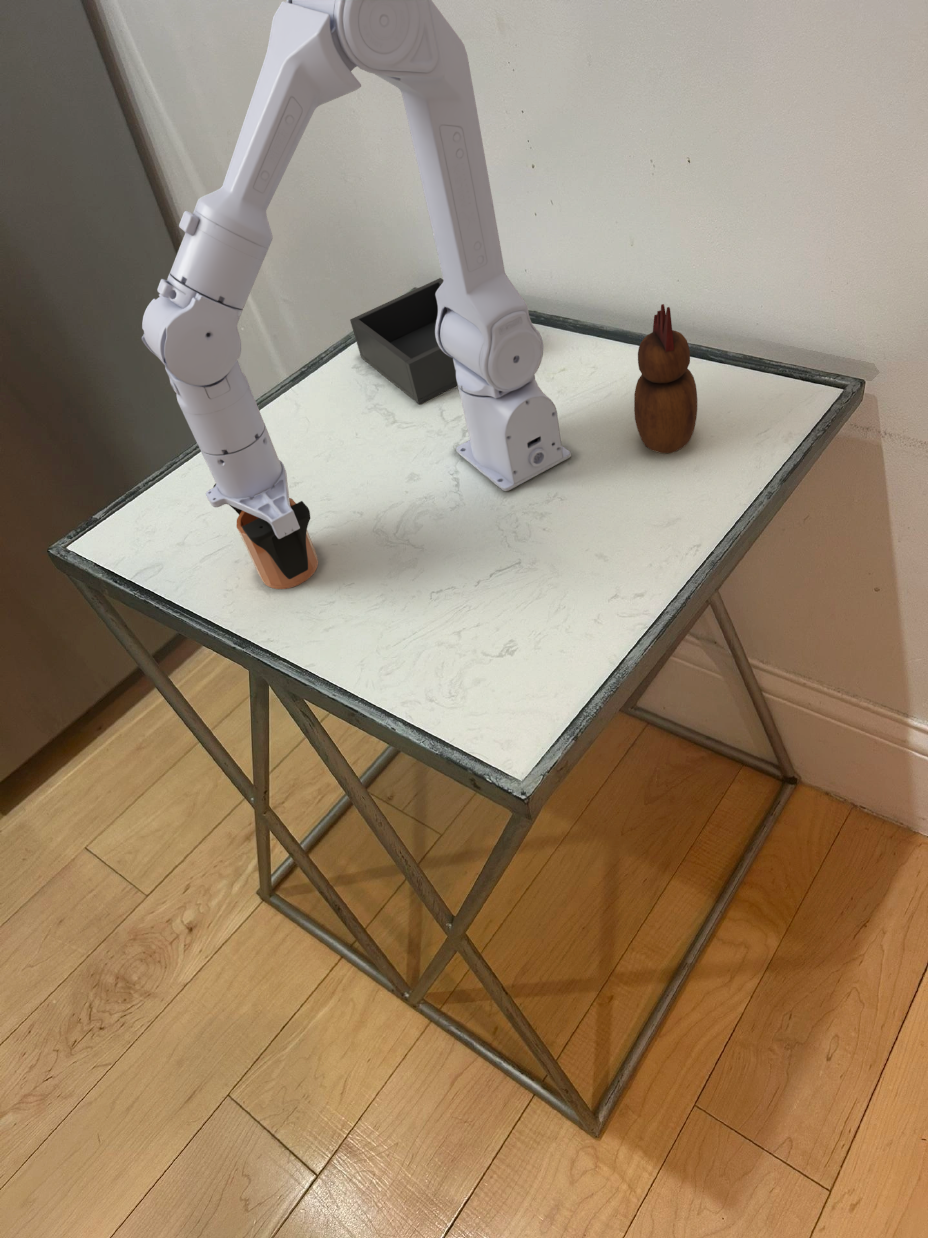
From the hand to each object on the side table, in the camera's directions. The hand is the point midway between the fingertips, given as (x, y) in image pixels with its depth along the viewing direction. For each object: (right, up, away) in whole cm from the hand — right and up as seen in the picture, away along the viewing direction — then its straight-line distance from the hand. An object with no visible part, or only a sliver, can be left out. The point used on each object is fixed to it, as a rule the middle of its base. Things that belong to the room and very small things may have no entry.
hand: (283, 555), depth 87 cm
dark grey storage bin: (+13, +25, +23) cm, 36 cm away
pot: (0, -1, +1) cm, 2 cm away
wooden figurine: (+37, +11, +4) cm, 38 cm away
